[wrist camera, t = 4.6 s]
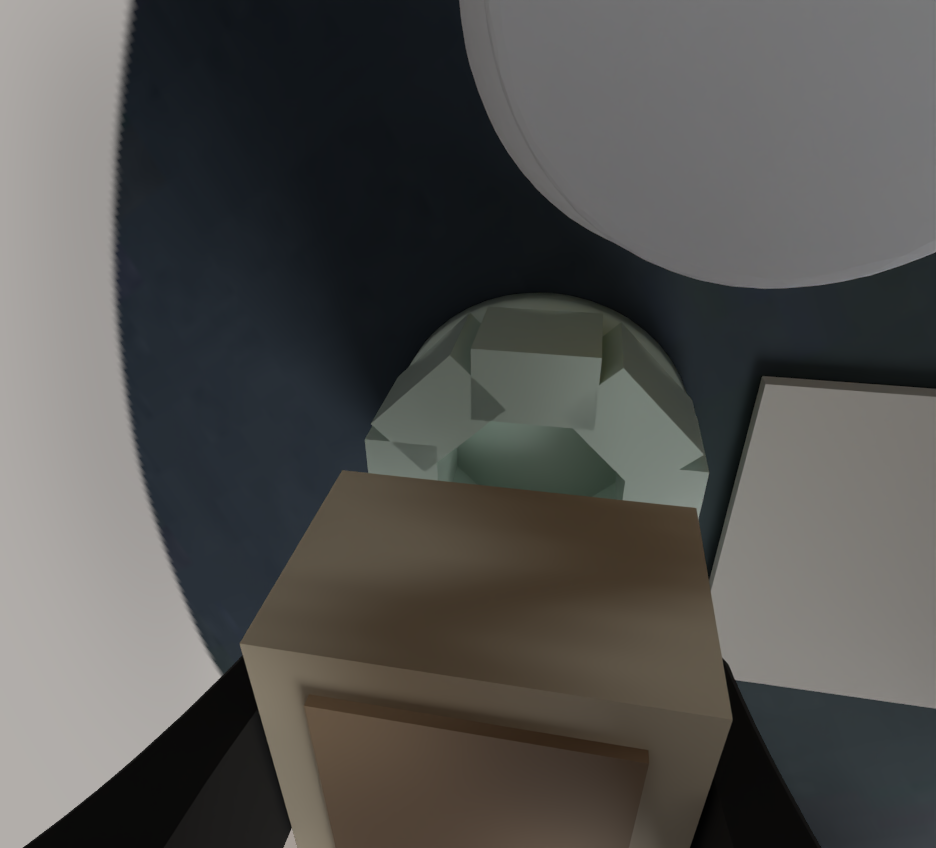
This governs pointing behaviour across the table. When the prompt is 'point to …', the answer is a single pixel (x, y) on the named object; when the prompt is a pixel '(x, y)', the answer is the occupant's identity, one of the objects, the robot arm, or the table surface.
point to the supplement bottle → (723, 128)
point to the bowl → (544, 406)
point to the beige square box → (491, 670)
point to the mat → (833, 542)
